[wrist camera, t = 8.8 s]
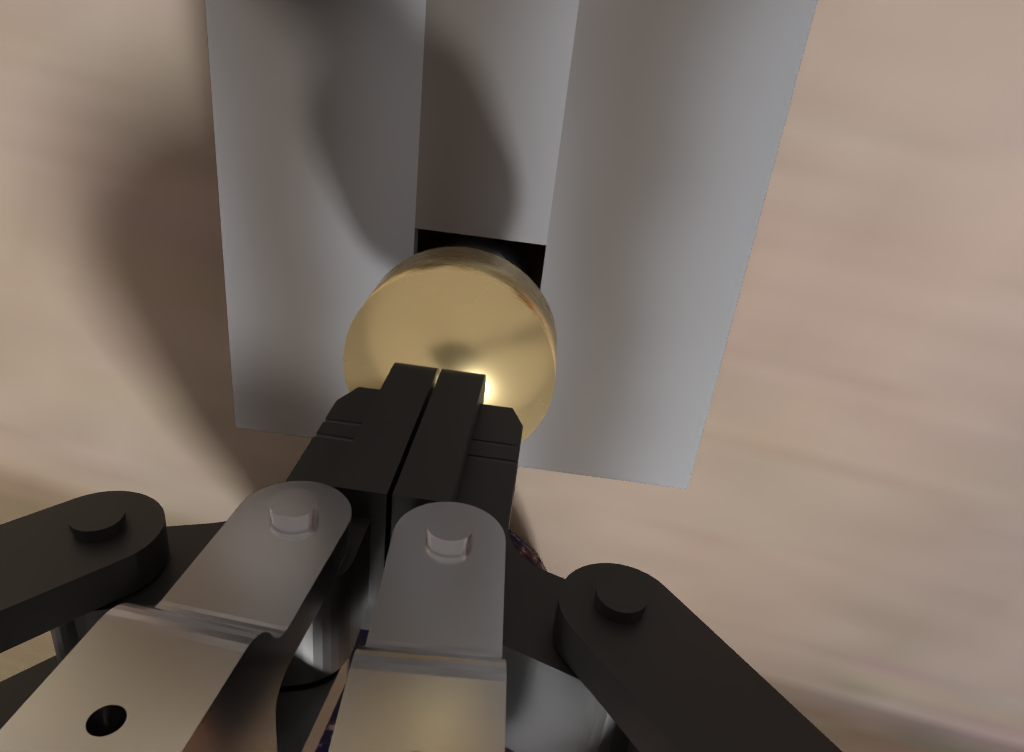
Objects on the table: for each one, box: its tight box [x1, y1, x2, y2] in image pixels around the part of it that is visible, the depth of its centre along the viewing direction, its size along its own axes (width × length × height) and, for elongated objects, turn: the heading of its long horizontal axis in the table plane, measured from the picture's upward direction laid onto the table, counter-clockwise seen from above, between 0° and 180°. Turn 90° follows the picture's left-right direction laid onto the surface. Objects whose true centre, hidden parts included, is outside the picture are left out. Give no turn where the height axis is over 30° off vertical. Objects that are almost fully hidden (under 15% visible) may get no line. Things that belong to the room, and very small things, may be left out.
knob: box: [343, 233, 557, 442], centre depth 18 cm, size 4×4×9 cm
